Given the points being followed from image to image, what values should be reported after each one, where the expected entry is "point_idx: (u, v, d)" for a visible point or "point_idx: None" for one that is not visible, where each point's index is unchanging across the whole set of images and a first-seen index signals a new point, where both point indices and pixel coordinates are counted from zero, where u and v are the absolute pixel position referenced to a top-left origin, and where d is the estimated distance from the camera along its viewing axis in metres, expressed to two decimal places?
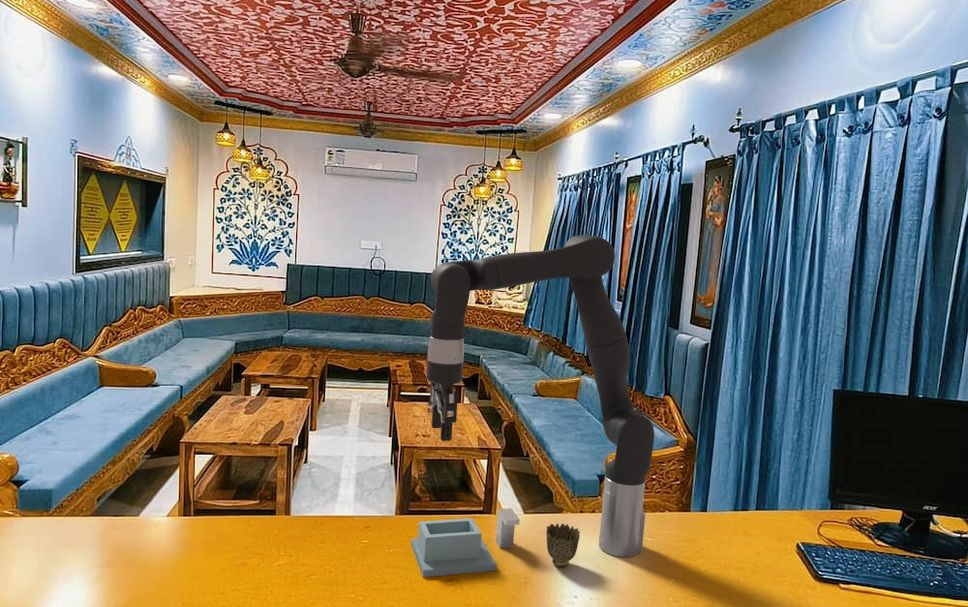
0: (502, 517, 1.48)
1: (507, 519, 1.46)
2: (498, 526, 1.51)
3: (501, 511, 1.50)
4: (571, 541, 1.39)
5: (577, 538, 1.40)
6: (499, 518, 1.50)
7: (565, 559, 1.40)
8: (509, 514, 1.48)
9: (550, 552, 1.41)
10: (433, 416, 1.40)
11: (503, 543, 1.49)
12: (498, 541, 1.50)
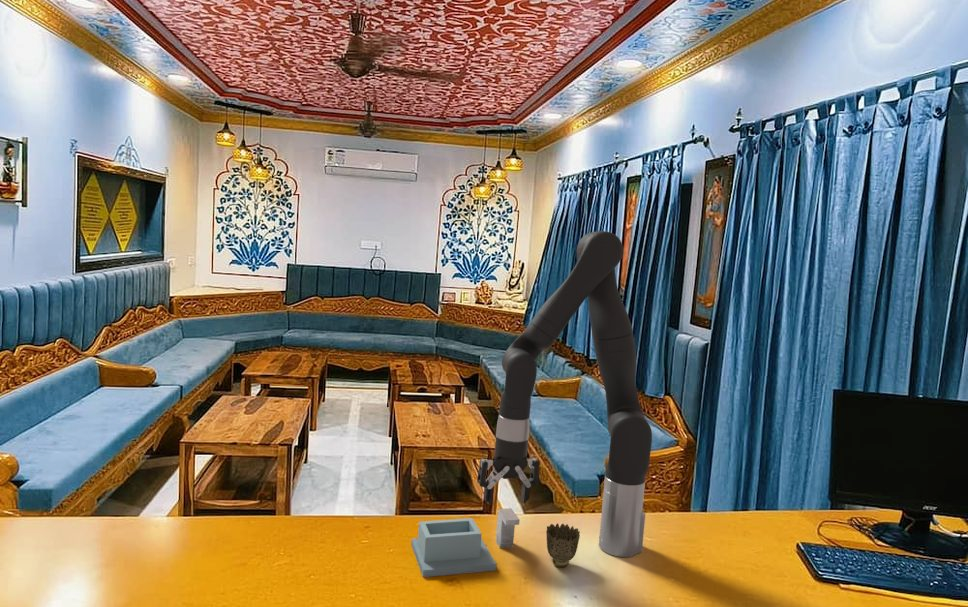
0: (502, 517, 1.48)
1: (507, 519, 1.46)
2: (498, 526, 1.51)
3: (501, 511, 1.50)
4: (571, 541, 1.39)
5: (577, 538, 1.40)
6: (499, 518, 1.50)
7: (565, 559, 1.40)
8: (509, 514, 1.48)
9: (550, 552, 1.41)
10: (491, 493, 1.47)
11: (503, 543, 1.49)
12: (498, 541, 1.50)
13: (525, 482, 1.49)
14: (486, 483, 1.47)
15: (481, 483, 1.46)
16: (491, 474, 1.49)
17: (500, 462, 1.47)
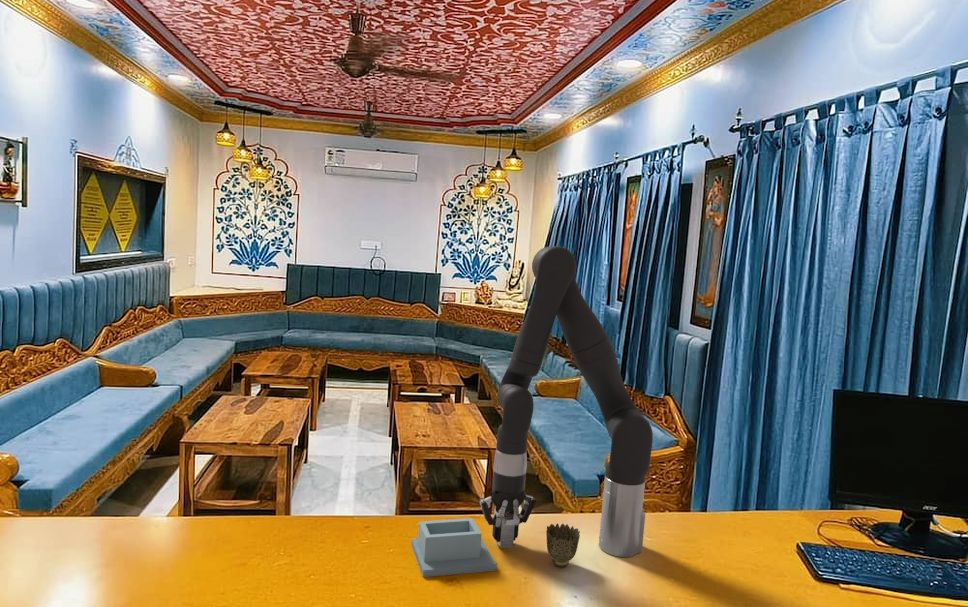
0: (502, 517, 1.48)
1: (507, 519, 1.46)
2: None
3: None
4: (571, 541, 1.39)
5: (577, 538, 1.40)
6: None
7: (565, 559, 1.40)
8: (509, 514, 1.48)
9: (550, 552, 1.41)
10: None
11: (503, 543, 1.49)
12: None
13: None
14: (494, 521, 1.48)
15: (489, 521, 1.48)
16: (495, 511, 1.50)
17: (497, 496, 1.47)
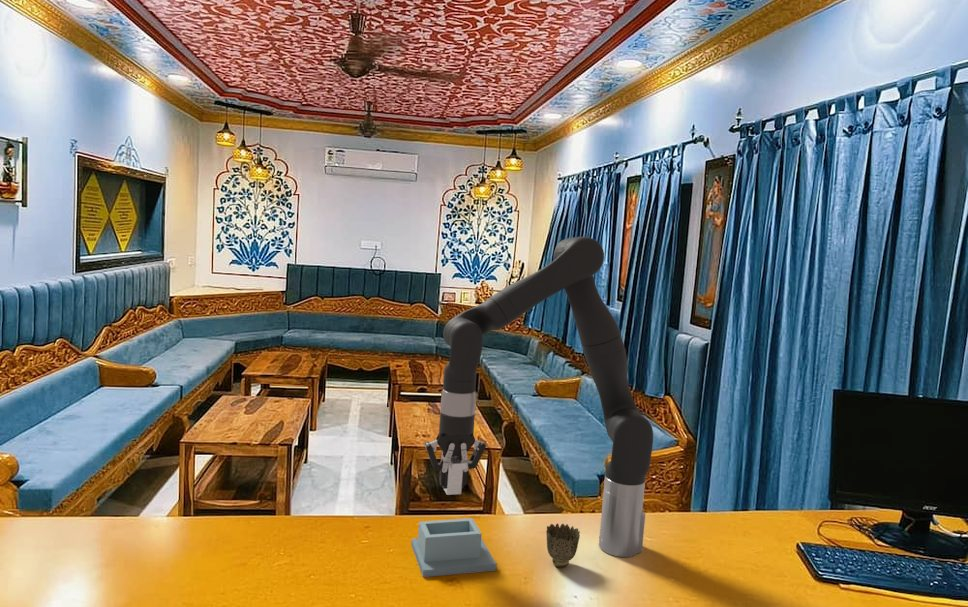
0: (449, 461, 1.38)
1: (454, 462, 1.36)
2: None
3: None
4: (571, 541, 1.39)
5: (577, 538, 1.40)
6: None
7: (565, 559, 1.40)
8: (456, 458, 1.39)
9: (550, 552, 1.41)
10: (447, 477, 1.39)
11: (450, 489, 1.39)
12: None
13: None
14: (441, 466, 1.39)
15: (435, 466, 1.38)
16: (442, 456, 1.40)
17: (443, 439, 1.38)
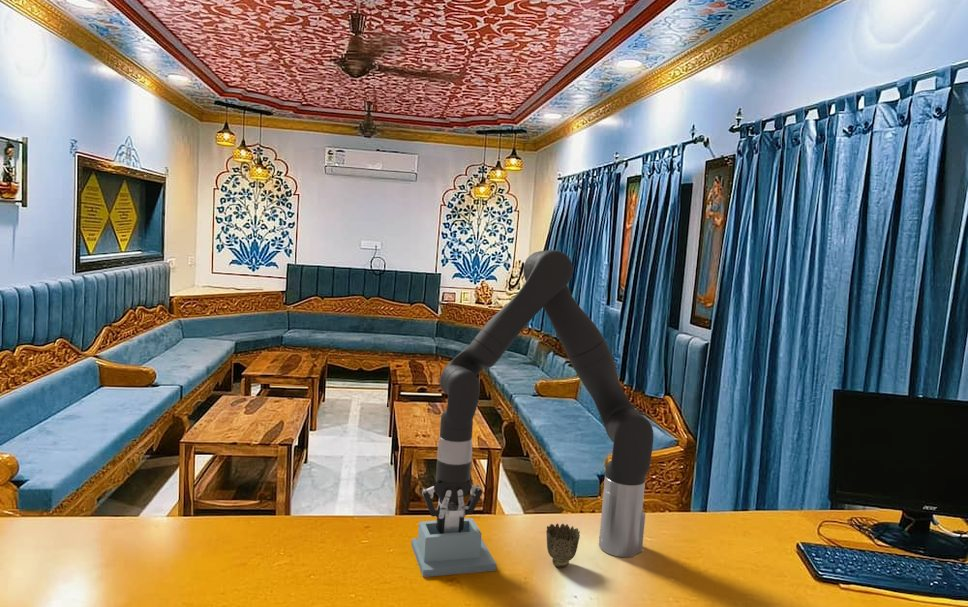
0: (446, 508, 1.39)
1: (450, 509, 1.37)
2: None
3: None
4: (571, 541, 1.39)
5: (577, 538, 1.40)
6: None
7: (565, 559, 1.40)
8: (453, 505, 1.40)
9: (550, 552, 1.41)
10: (443, 523, 1.40)
11: None
12: None
13: None
14: (437, 512, 1.40)
15: (432, 512, 1.39)
16: (439, 502, 1.41)
17: (440, 485, 1.39)
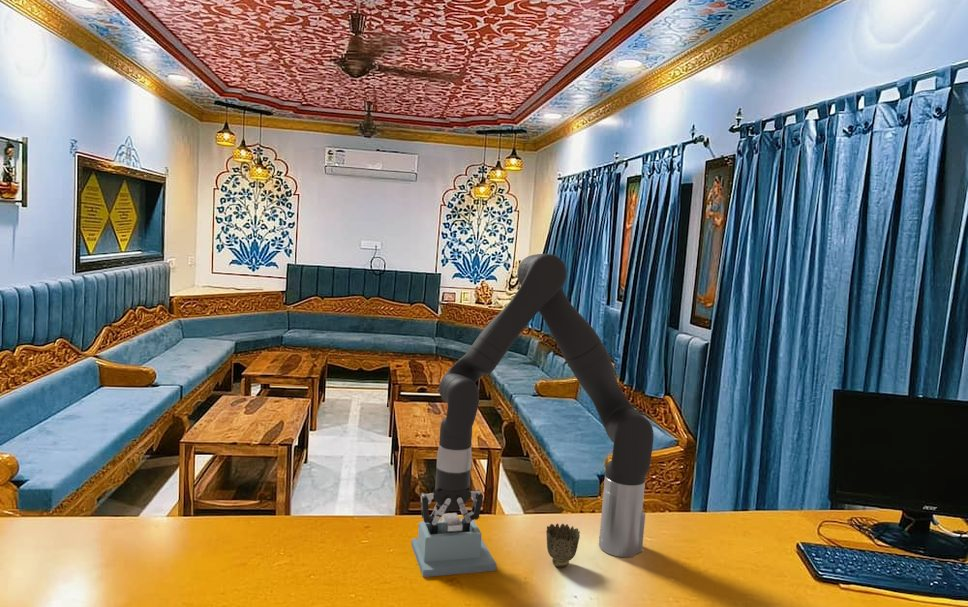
0: (445, 522, 1.40)
1: (449, 524, 1.38)
2: (441, 531, 1.43)
3: (445, 516, 1.42)
4: (571, 541, 1.39)
5: (577, 538, 1.40)
6: (443, 523, 1.42)
7: (565, 559, 1.40)
8: (452, 519, 1.40)
9: (550, 552, 1.41)
10: (437, 529, 1.40)
11: None
12: None
13: (464, 517, 1.41)
14: (431, 519, 1.40)
15: (425, 519, 1.39)
16: (435, 508, 1.41)
17: (440, 494, 1.39)
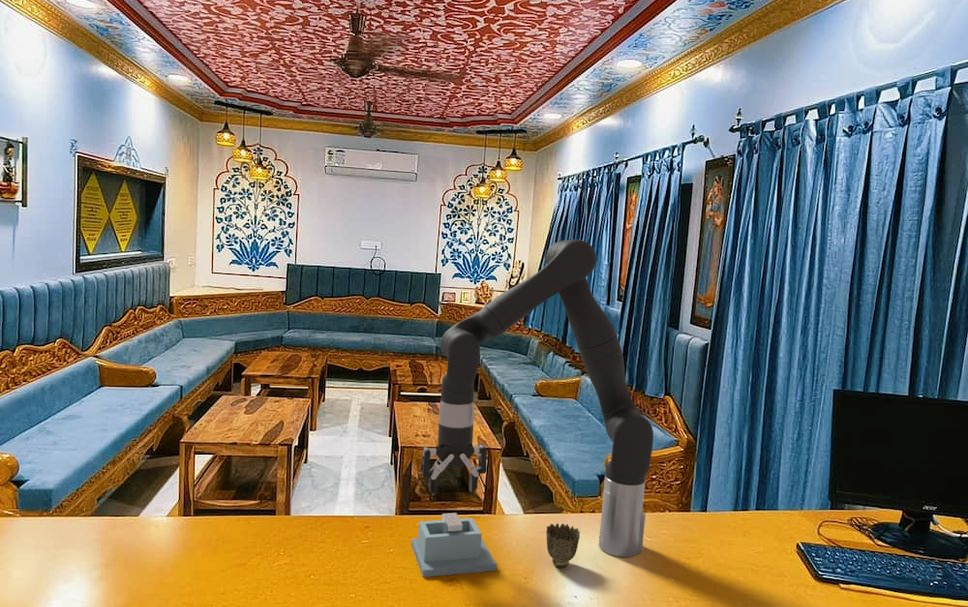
0: (445, 522, 1.40)
1: (449, 524, 1.38)
2: (441, 531, 1.43)
3: (445, 516, 1.42)
4: (571, 541, 1.39)
5: (577, 538, 1.40)
6: (443, 523, 1.42)
7: (565, 559, 1.40)
8: (452, 519, 1.40)
9: (550, 552, 1.41)
10: (436, 484, 1.39)
11: None
12: None
13: (472, 471, 1.40)
14: (430, 473, 1.38)
15: (424, 473, 1.37)
16: (435, 463, 1.40)
17: (444, 450, 1.38)
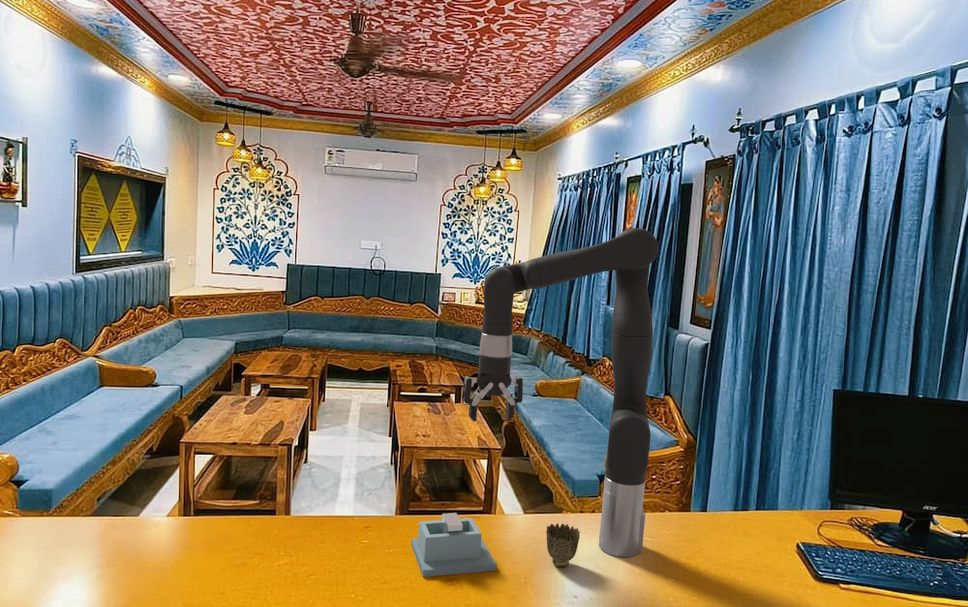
0: (445, 522, 1.40)
1: (449, 524, 1.38)
2: (441, 531, 1.43)
3: (445, 516, 1.42)
4: (571, 541, 1.39)
5: (577, 538, 1.40)
6: (443, 523, 1.42)
7: (565, 559, 1.40)
8: (452, 519, 1.40)
9: (550, 552, 1.41)
10: (476, 410, 1.50)
11: None
12: None
13: (509, 399, 1.52)
14: (470, 400, 1.49)
15: (465, 400, 1.49)
16: (475, 392, 1.51)
17: (484, 379, 1.49)
